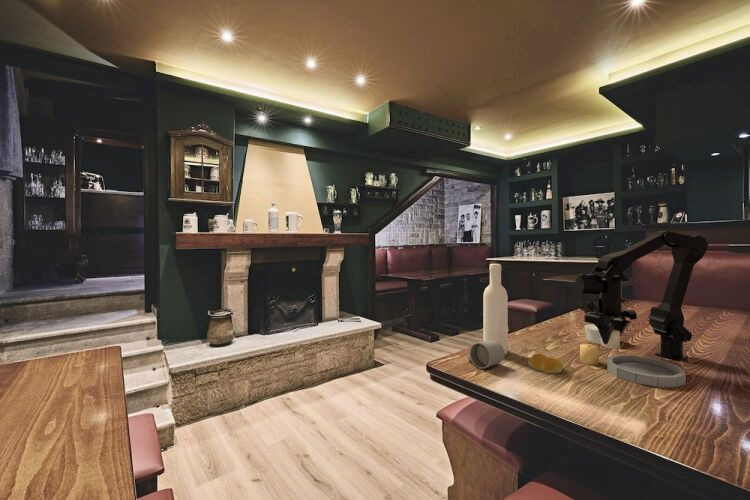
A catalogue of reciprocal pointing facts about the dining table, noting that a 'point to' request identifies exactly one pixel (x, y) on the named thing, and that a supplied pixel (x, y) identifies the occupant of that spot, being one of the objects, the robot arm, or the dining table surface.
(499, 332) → the bottle
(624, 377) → the round tray
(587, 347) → the ochre bead
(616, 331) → the cream bead
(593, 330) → the ramekin
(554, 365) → the bread roll
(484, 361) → the ceramic mug
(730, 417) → the dining table surface
